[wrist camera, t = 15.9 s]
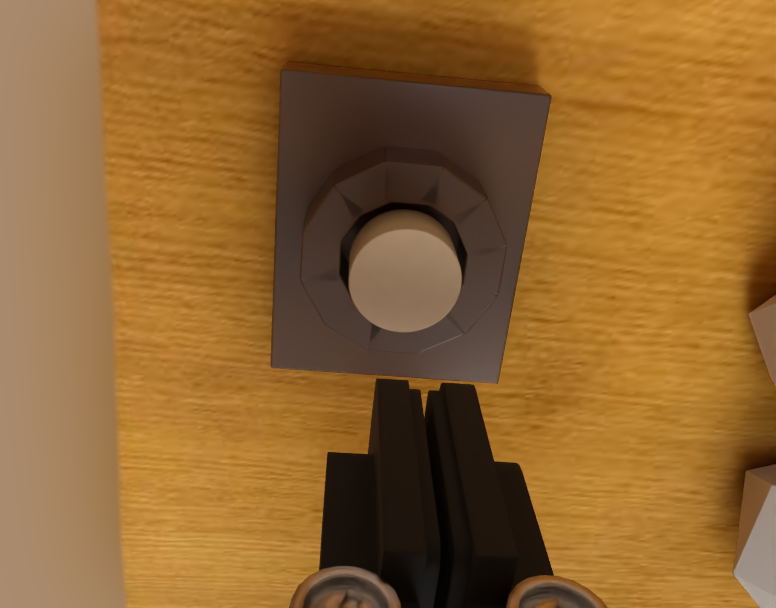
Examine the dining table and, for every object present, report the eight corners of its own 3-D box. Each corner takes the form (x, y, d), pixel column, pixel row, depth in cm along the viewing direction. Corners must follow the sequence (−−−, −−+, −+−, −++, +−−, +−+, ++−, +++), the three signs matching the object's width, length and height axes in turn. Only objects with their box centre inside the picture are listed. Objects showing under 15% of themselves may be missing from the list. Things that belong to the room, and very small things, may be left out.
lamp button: (353, 204, 22) (352, 224, 20) (462, 213, 22) (469, 233, 20) (345, 303, 23) (344, 328, 21) (447, 310, 23) (454, 336, 22)
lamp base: (285, 61, 23) (273, 78, 20) (540, 85, 23) (567, 106, 20) (275, 344, 27) (263, 396, 24) (491, 360, 28) (507, 413, 24)
